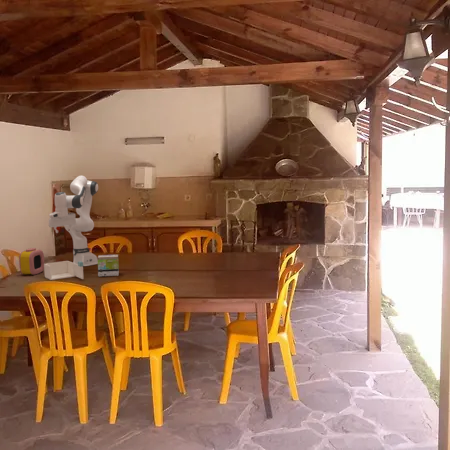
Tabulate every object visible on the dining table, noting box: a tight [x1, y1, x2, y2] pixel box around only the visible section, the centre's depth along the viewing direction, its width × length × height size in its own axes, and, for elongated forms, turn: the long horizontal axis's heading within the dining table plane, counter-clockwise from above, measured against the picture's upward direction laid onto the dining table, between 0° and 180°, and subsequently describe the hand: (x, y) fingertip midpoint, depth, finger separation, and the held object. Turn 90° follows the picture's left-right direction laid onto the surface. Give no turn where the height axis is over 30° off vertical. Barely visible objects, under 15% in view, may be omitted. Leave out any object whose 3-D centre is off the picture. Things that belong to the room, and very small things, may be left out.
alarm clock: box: [18, 247, 45, 276], centre depth 382 cm, size 18×11×19 cm, turn 168°
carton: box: [43, 260, 75, 281], centre depth 368 cm, size 18×14×10 cm
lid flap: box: [73, 261, 84, 280], centre depth 360 cm, size 17×2×12 cm, turn 36°
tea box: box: [97, 254, 120, 277], centre depth 370 cm, size 15×10×15 cm, turn 101°
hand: (63, 231), depth 374 cm, fingers open, 8 cm apart
